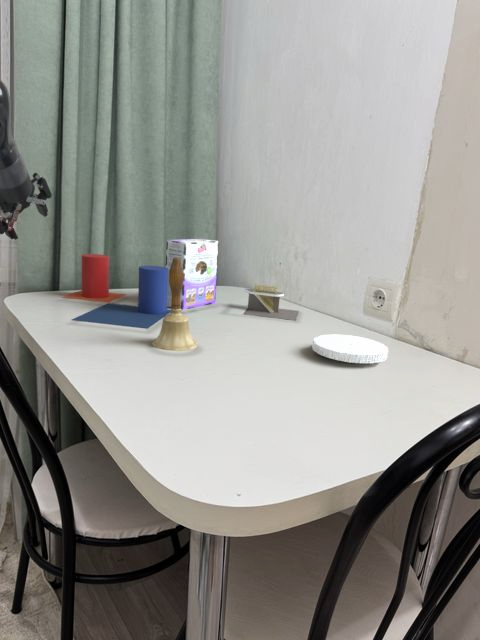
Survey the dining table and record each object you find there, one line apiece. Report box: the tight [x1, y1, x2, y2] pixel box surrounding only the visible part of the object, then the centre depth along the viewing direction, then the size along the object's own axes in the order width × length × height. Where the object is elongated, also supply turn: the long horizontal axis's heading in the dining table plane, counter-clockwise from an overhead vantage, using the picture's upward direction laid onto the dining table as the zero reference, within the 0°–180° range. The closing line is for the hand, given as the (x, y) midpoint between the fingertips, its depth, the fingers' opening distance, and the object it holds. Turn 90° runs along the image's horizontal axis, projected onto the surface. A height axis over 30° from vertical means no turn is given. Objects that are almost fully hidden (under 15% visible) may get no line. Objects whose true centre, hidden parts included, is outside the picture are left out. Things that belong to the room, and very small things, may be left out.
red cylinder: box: [80, 253, 110, 298], centre depth 126 cm, size 6×6×10 cm
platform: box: [242, 283, 300, 321], centre depth 128 cm, size 12×18×7 cm, turn 82°
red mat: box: [60, 289, 128, 304], centre depth 127 cm, size 12×12×1 cm
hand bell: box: [151, 258, 199, 352], centre depth 90 cm, size 8×8×16 cm
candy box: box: [165, 238, 219, 311], centre depth 125 cm, size 14×6×16 cm, turn 149°
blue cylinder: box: [137, 265, 168, 314], centre depth 115 cm, size 6×6×10 cm
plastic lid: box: [311, 333, 389, 364], centre depth 95 cm, size 14×14×2 cm
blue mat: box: [71, 302, 171, 330], centre depth 111 cm, size 16×19×1 cm
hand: (28, 225), depth 113 cm, fingers open, 8 cm apart
